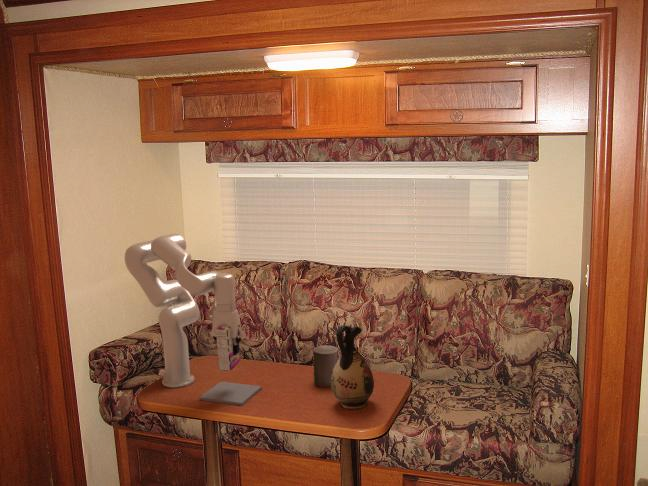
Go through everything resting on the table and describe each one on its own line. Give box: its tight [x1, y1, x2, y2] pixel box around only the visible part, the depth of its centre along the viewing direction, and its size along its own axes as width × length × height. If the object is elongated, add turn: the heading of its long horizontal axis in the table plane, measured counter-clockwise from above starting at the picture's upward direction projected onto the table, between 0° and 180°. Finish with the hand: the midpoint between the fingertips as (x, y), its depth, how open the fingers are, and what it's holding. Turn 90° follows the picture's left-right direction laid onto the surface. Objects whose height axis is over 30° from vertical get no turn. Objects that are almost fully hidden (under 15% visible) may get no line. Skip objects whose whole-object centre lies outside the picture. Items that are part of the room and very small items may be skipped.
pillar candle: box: [312, 345, 339, 388], centre depth 240 cm, size 10×10×15 cm
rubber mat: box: [198, 381, 263, 406], centre depth 233 cm, size 18×16×1 cm
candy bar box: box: [216, 326, 241, 372], centre depth 230 cm, size 11×5×16 cm, turn 168°
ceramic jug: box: [330, 324, 375, 409], centre depth 218 cm, size 17×15×30 cm
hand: (228, 353), depth 230 cm, fingers closed on candy bar box, 5 cm apart
